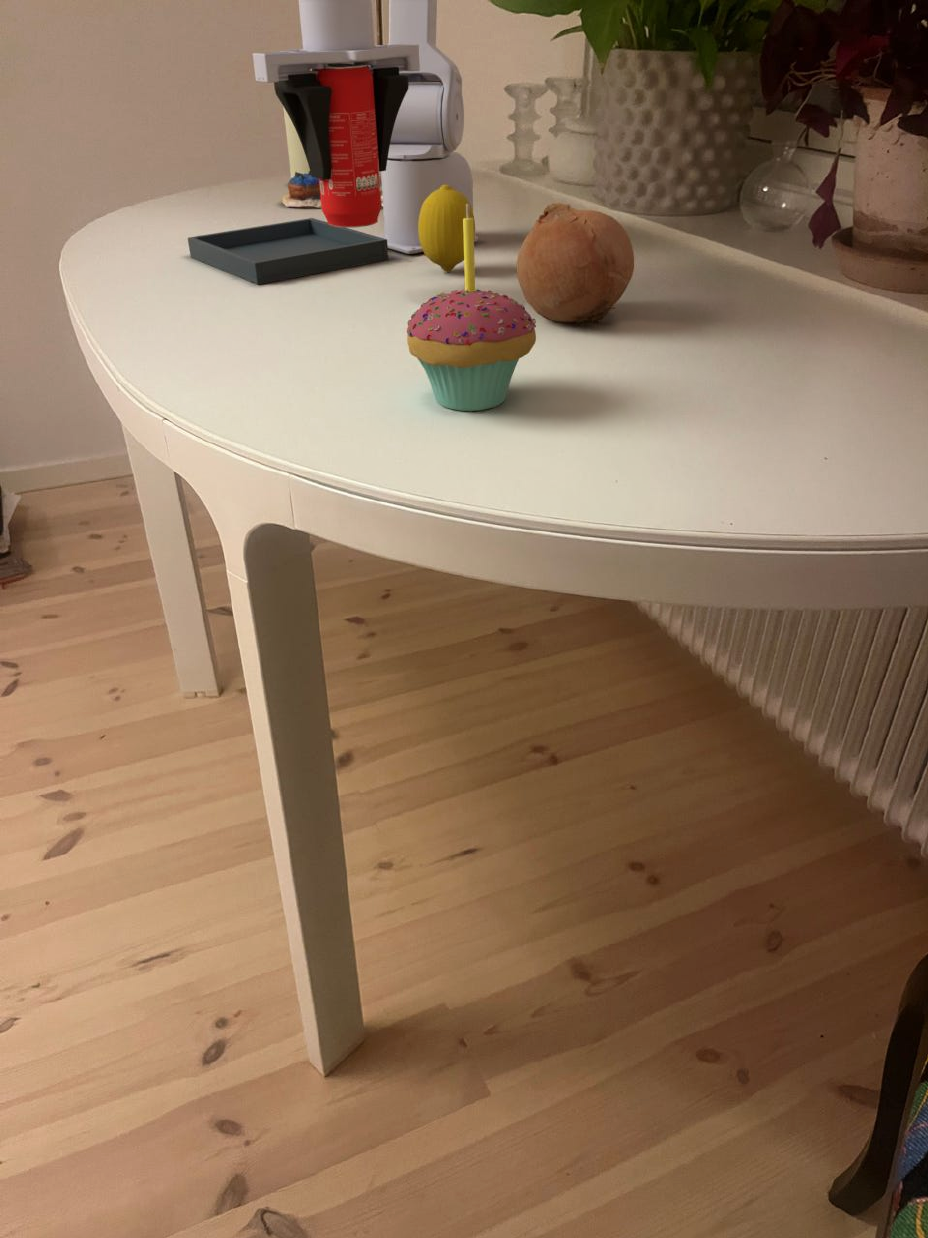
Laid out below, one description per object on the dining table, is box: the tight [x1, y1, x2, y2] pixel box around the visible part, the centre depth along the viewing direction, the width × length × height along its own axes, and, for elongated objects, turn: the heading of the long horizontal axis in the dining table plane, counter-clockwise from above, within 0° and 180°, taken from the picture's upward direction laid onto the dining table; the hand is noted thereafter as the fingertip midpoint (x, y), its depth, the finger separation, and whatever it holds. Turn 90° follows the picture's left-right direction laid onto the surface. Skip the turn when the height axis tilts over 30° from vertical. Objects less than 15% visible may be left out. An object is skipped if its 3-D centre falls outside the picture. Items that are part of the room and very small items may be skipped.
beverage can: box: [311, 62, 382, 229], centre depth 80 cm, size 5×5×12 cm
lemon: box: [418, 184, 476, 273], centre depth 91 cm, size 6×6×8 cm
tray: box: [187, 217, 389, 286], centre depth 99 cm, size 15×15×2 cm
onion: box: [516, 202, 635, 326], centre depth 77 cm, size 10×9×10 cm
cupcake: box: [406, 204, 537, 412], centre depth 61 cm, size 9×8×12 cm
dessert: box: [282, 171, 322, 209], centre depth 125 cm, size 8×7×6 cm
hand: (348, 173), depth 81 cm, fingers closed on beverage can, 5 cm apart
